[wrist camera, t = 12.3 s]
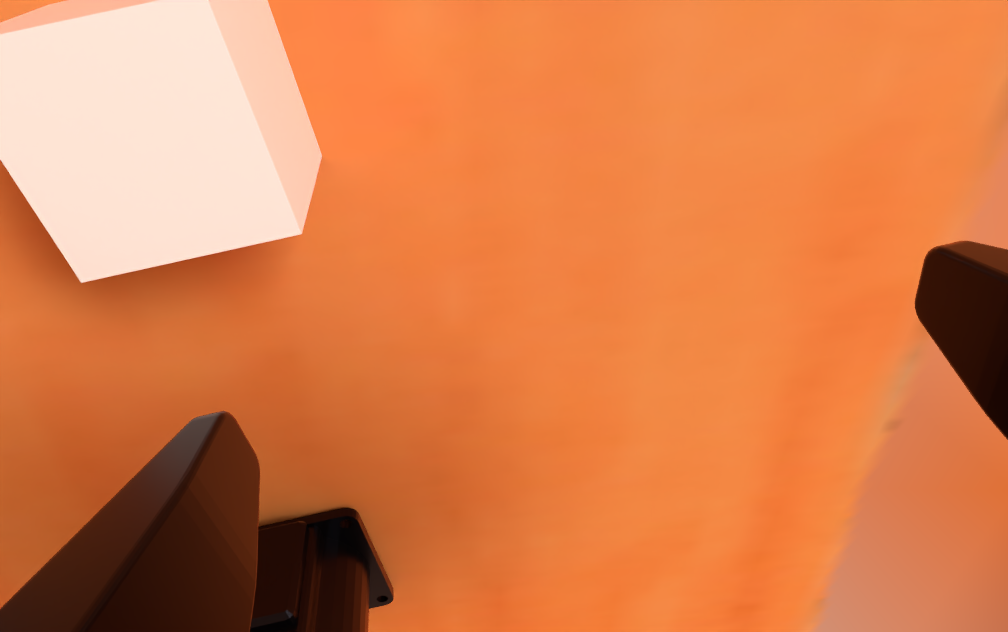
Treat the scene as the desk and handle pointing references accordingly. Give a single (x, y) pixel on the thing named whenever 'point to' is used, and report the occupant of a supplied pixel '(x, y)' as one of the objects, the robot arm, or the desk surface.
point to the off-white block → (154, 129)
